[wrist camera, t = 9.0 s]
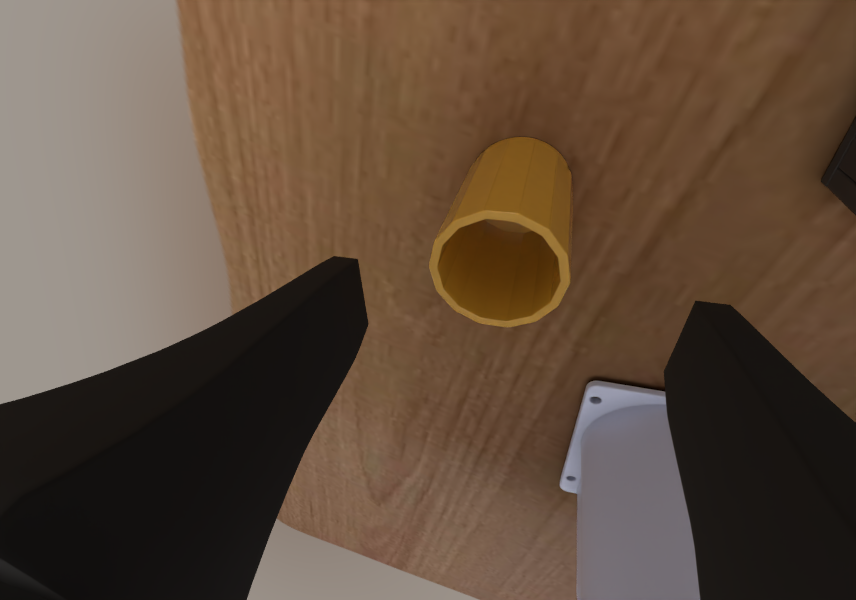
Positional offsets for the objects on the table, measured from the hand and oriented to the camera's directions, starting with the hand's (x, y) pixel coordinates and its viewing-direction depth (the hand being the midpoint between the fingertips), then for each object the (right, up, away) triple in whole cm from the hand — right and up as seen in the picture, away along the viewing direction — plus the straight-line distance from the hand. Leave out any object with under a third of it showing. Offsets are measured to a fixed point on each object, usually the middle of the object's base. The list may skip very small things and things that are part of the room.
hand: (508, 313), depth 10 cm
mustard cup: (+1, +4, +6) cm, 8 cm away
